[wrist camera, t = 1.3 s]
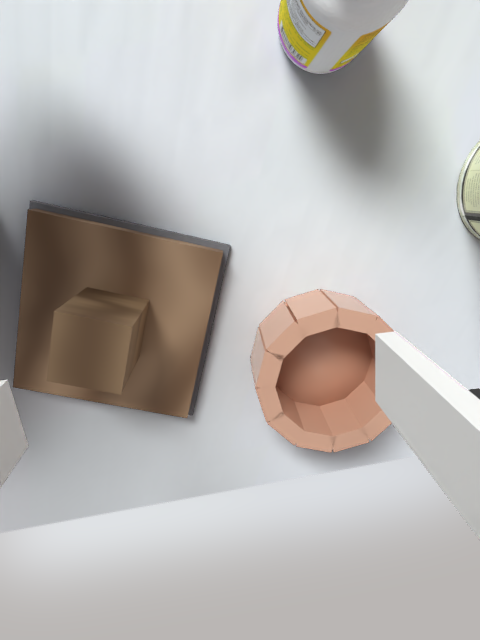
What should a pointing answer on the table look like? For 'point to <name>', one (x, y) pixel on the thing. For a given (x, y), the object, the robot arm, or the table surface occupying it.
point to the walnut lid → (112, 313)
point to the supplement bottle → (331, 30)
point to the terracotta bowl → (319, 371)
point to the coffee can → (470, 192)
